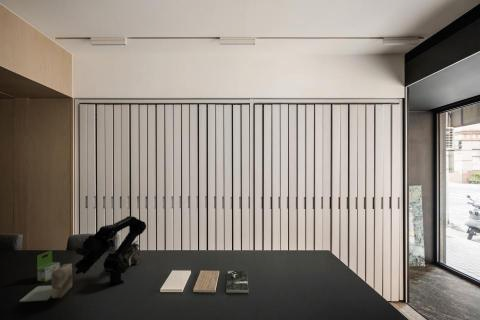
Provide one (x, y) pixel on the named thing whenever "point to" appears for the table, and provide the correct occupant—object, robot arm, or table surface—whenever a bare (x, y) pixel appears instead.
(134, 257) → the hollow geode rock
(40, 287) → the mat
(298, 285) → the table surface
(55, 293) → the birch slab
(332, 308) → the table surface
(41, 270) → the ink box
